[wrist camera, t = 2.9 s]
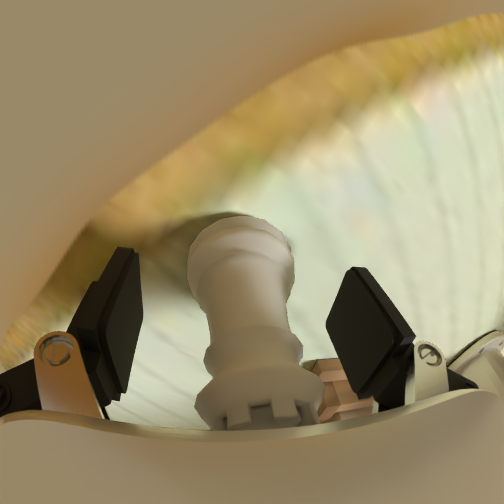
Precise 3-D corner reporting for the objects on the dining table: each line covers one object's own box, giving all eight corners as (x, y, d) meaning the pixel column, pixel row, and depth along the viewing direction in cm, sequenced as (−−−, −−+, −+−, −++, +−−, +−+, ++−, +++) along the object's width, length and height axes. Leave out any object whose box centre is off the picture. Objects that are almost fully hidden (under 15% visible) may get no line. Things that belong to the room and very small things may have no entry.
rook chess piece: (260, 309, 14) (293, 463, 7) (174, 280, 12) (151, 452, 5) (307, 235, 12) (397, 393, 5) (211, 193, 11) (206, 372, 4)
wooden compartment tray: (407, 350, 18) (458, 442, 10) (321, 449, 27) (337, 507, 20) (317, 359, 16) (359, 486, 9) (260, 456, 26) (270, 520, 18)
